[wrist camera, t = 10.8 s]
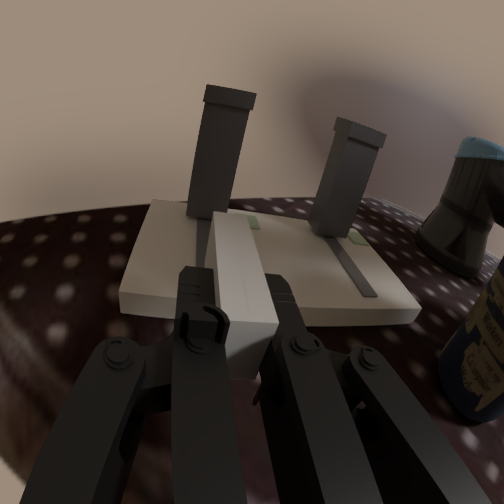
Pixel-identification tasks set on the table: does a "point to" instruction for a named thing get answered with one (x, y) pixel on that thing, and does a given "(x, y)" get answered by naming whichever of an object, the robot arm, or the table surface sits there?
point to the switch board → (268, 268)
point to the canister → (478, 356)
